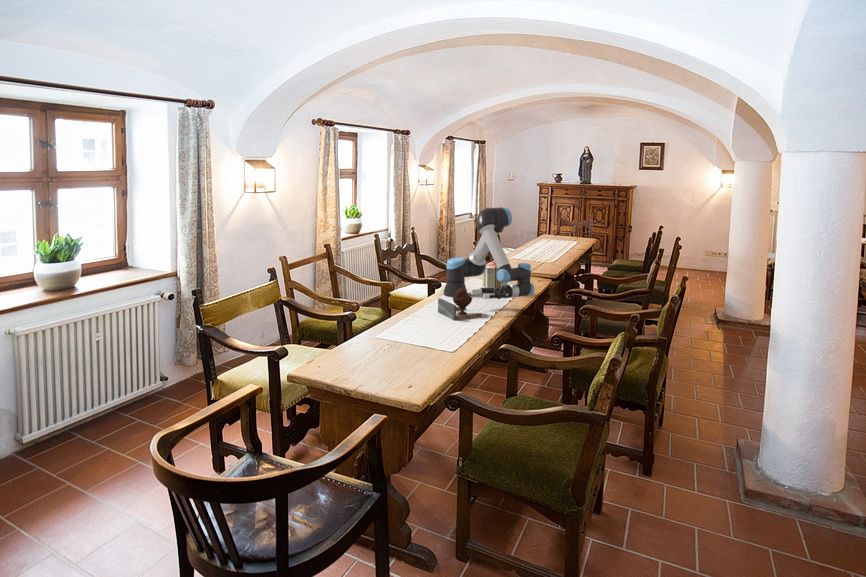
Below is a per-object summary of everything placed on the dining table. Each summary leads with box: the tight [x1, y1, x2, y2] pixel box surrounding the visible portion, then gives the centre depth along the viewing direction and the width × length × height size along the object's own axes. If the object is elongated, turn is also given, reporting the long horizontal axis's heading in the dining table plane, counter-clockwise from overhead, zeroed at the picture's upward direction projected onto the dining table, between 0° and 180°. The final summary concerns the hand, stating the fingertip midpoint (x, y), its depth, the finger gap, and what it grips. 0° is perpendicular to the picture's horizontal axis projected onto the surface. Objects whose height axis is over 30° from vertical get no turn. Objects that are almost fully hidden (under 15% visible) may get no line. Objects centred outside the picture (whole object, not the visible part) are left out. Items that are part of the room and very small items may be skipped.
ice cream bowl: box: [452, 288, 473, 316], centre depth 333 cm, size 11×11×15 cm
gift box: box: [481, 260, 509, 289], centre depth 407 cm, size 17×18×17 cm
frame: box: [437, 297, 483, 321], centre depth 333 cm, size 17×19×8 cm
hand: (477, 294), depth 337 cm, fingers open, 13 cm apart
